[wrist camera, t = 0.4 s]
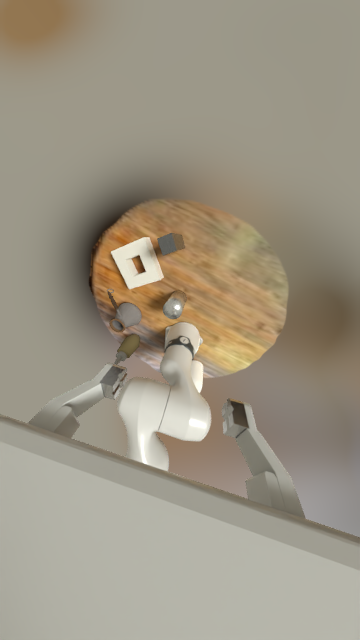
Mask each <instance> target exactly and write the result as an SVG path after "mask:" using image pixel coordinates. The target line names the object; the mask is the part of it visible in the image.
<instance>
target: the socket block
mask: <svg viewBox="0 0 360 640" xmlns="http://www.w3.org/2000/svg"><path fill="white" fill-rule="evenodd" d="M111 254H112V256H113V258H114V260H115V262H116V264H117V266H118V268H119V270H120V272H121V274H122V276H123V278H124V280H125V282H126V284H127V286H128V288H129V289H132V288H135V287H138V286H142V285H145V284H148V283H152V282H155V281H158V280H161V279H162V278H163V277H164V276H163V274H162V271H161V268H160V265H159V262H158V260H157V257H156V254H155V251H154V249H153V246H152V243H151V240H150V238H149V237H144V238H141V239H139V240H137V241H134V242H132V243H130V244H127V245H125V246H123V247H120V248H118V249H116V250H114V251H111ZM139 255H140V258H141V260H142V263H143V265H144V268H145V270H146V272H143V273H140V274H138V272H137V270H136V268H135V266H134V263H133V261H132V258H134V257H137V256H139Z"/></svg>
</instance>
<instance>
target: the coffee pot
mask: <svg viewBox="0 0 360 640" xmlns="http://www.w3.org/2000/svg"><path fill="white" fill-rule="evenodd" d="M108 290H110V289H108ZM112 290H113V289H112ZM113 292H114V290H113ZM113 292H111V293H113ZM111 293H110V292H108V295H109V298H110V299H111V302H112V304H113V306H114V307H115V309H116V311H117V314H116V317H115V319H112V320H111V321H110V326H111V328H112V329H113V330H114V331H116V332H123V331H124V330H125V328H126V327H129V326H133V325H136V324H138V323H139V322H140V321H141V312H140V310H139V308H138V307H137V306H135V305H134V304H132V303H123V304H121V305H120V306H119V308H118V307H117V305H116V302H115V300H114V299H113V296H111Z"/></svg>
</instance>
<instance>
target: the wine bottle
mask: <svg viewBox="0 0 360 640" xmlns="http://www.w3.org/2000/svg"><path fill="white" fill-rule="evenodd" d="M191 376H192V380H193V382H194V385H195V387H196V389H197V390H198V392H199V393H200V391H201V388H202V382H203V365H202V363H201V362H199V361H197V360H192V364H191Z"/></svg>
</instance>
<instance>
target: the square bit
mask: <svg viewBox="0 0 360 640" xmlns="http://www.w3.org/2000/svg"><path fill="white" fill-rule="evenodd" d="M157 240H158V243H159V246H160V249H161V251H162V254H163V255H166V254H169V253H172V252H175V251H178V250H181V249H184V248H185V245H184V241H183V237H182V235H180V234H175V233H170V234H168V235H165V236H163V237H160V238H158V239H157Z"/></svg>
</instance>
